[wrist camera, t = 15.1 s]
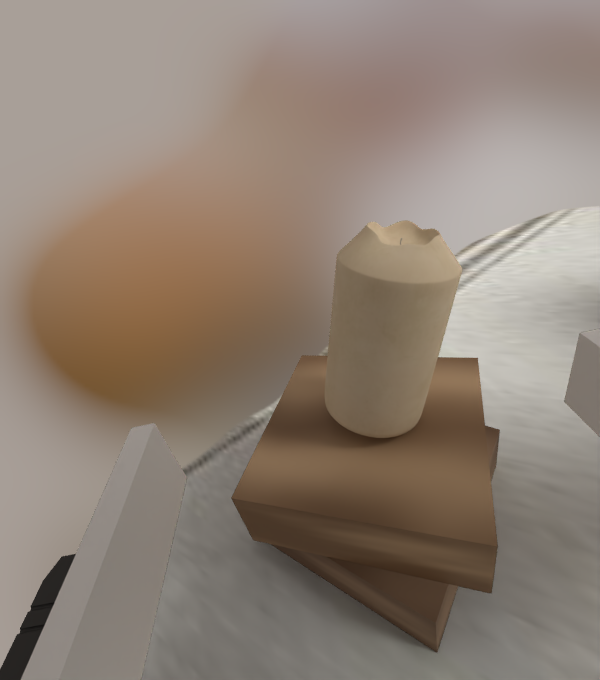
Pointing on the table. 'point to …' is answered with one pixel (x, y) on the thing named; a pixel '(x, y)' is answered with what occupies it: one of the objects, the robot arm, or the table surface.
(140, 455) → the robot arm
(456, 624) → the table surface
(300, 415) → the tower top
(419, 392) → the candle
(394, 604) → the tower base
